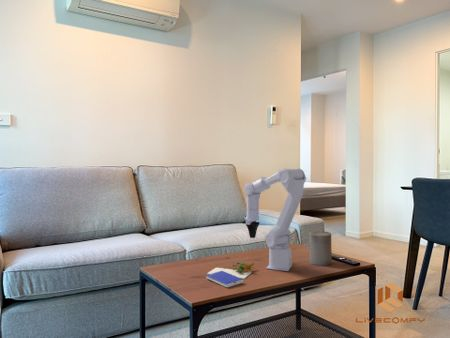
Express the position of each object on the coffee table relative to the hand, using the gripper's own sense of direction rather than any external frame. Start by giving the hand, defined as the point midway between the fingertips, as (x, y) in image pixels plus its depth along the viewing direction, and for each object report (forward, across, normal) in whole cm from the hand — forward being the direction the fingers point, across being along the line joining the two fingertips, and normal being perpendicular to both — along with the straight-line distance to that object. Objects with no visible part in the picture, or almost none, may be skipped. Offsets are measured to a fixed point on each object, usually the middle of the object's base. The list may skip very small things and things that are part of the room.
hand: (252, 237), depth 170 cm
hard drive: (+10, +34, 0) cm, 35 cm away
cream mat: (+10, +24, -2) cm, 26 cm away
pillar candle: (+11, -7, +30) cm, 33 cm away
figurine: (+8, +18, -1) cm, 20 cm away
